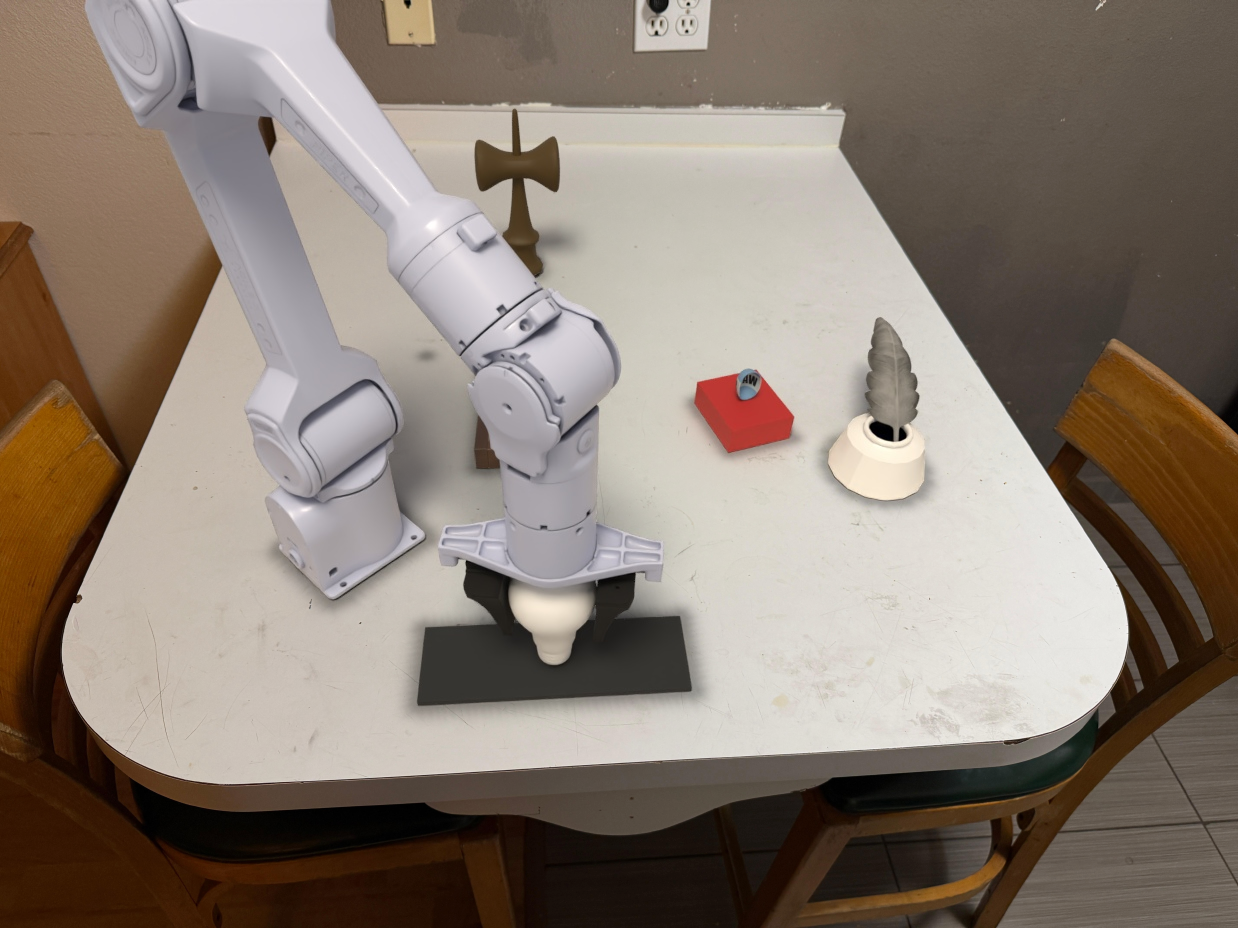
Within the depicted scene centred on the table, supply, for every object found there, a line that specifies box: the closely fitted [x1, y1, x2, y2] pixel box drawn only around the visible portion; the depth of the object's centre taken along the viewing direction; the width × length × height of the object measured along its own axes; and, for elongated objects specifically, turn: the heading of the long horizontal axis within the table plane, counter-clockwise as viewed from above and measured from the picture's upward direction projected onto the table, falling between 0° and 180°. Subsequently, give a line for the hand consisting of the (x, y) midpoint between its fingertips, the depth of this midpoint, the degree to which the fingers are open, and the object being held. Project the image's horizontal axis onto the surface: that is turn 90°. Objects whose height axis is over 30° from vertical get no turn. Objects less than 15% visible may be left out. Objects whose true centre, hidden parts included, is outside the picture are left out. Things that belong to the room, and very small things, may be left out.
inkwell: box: [827, 316, 926, 502], centre depth 79 cm, size 9×18×10 cm, turn 178°
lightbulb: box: [508, 577, 597, 665], centre depth 58 cm, size 6×6×11 cm
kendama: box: [473, 108, 561, 277], centre depth 96 cm, size 6×10×20 cm, turn 97°
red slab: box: [693, 368, 795, 453], centre depth 81 cm, size 8×7×6 cm
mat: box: [416, 615, 693, 707], centre depth 62 cm, size 20×6×1 cm, turn 95°
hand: (554, 626), depth 59 cm, fingers closed on lightbulb, 6 cm apart
